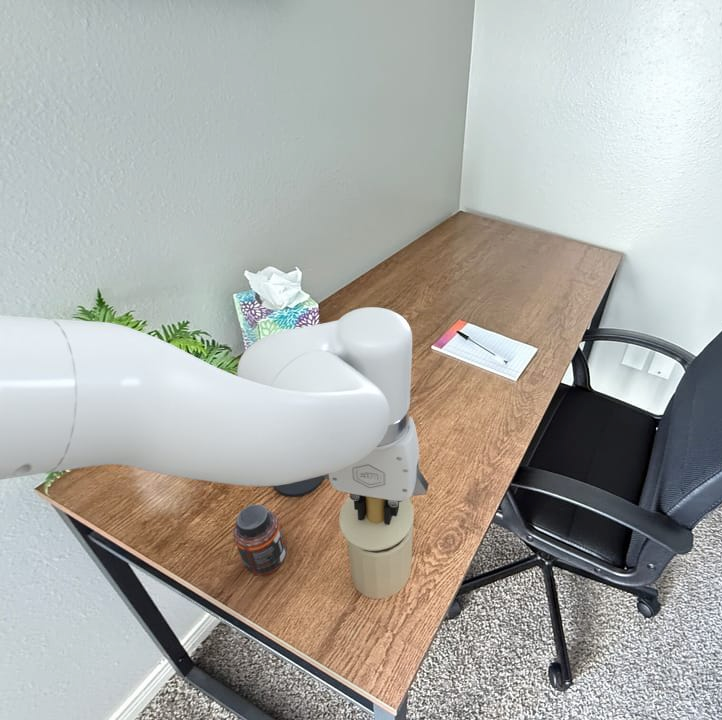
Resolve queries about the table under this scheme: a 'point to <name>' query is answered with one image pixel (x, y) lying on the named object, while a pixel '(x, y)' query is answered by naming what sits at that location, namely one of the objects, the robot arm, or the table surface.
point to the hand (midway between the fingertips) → (377, 512)
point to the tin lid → (375, 524)
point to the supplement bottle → (259, 540)
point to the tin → (381, 568)
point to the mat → (299, 487)
